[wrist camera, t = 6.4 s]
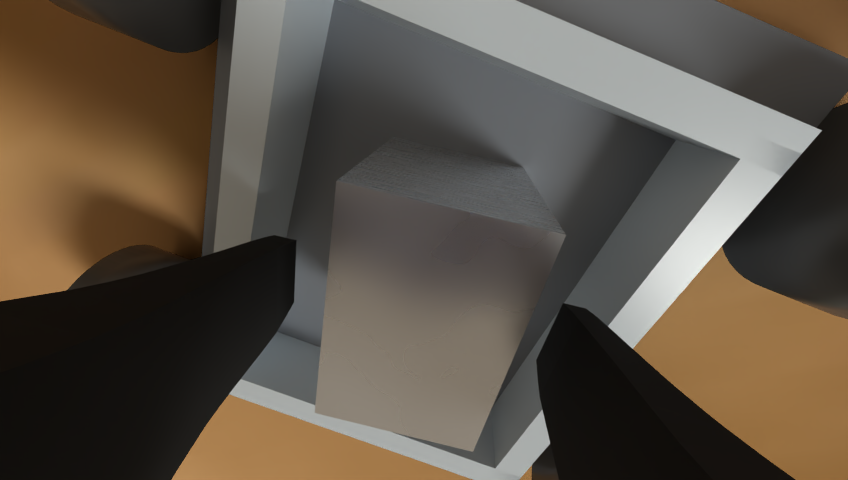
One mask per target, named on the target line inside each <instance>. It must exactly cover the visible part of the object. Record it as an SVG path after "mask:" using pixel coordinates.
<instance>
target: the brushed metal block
mask: <svg viewBox="0 0 848 480" xmlns="http://www.w3.org/2000/svg"><path fill="white" fill-rule="evenodd" d="M565 237H566V234H565V232H564V231H563V229H562V228H561V226H560V224H559V223H558V221H557V220H556V218H555V217H554V215H553V213H552V212H551V210H550V209H549V207H548V206H547V204H546V202H545V201H544V199H543V198H542V196H541V194H540V193H539V191H538V190H537V188H536V187H535V185H534V183H533V182H532V180H531V179H530V177H529V176H528V174H527V172H526V171H525V169H524V168H523V167H521V166H517V165H512V164H508V163H504V162H499V161H495V160H491V159H486V158H482V157H478V156H473V155H469V154H465V153H460V152H456V151H452V150H447V149H443V148H439V147H434V146H430V145H426V144H421V143H417V142H413V141H409V140H404V139H400V138H396V137H393V138H391V139H390V140H389V141H388V142H386V143H385V144H384V145H382V146H381V147H380V148H378V149H377V150H376V151H375V152H373V153H372V154H371V155H369V156H368V157H367V158H366V159H364V160H363V161H362V162H360V163H359V164H358V165H356V166H355V167H354V168H353V169H351V170H350V171H349V172H347V173H346V174H345V175H344V176H342V177H341V178H340V179H338V180H337V181H336V189H335V200H334V210H333V221H332V232H331V243H330V253H329V264H328V275H327V286H326V296H325V307H324V318H323V329H322V339H321V350H320V361H319V371H318V382H317V393H316V404H315V413H317V414H321V415H325V416H329V417H333V418H337V419H341V420H345V421H349V422H353V423H357V424H361V425H366V426H370V427H374V428H378V429H382V430H386V431H390V432H394V433H398V434H402V435H406V436H410V437H414V438H418V439H422V440H427V441H431V442H435V443H439V444H443V445H447V446H451V447H455V448H459V449H463V450H467V451H471V452H473V451H474V448H475V446H476V444H477V441H478V439H479V437H480V434H481V432H482V430H483V427H484V425H485V423H486V420H487V418H488V416H489V413H490V411H491V409H492V406H493V404H494V402H495V399H496V397H497V395H498V392H499V390H500V388H501V385H502V383H503V381H504V379H505V376H506V374H507V372H508V369H509V367H510V365H511V362H512V360H513V358H514V355H515V353H516V351H517V348H518V346H519V344H520V341H521V339H522V337H523V334H524V332H525V330H526V327H527V325H528V323H529V320H530V318H531V316H532V313H533V311H534V309H535V306H536V304H537V302H538V299H539V297H540V295H541V293H542V290H543V288H544V286H545V283H546V281H547V279H548V276H549V274H550V272H551V269H552V267H553V265H554V262H555V260H556V258H557V255H558V253H559V251H560V248H561V246H562V244H563V241H564V239H565Z"/></svg>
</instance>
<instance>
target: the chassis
mask: <svg viewBox="0 0 848 480" xmlns="http://www.w3.org/2000/svg"><path fill="white" fill-rule="evenodd" d="M49 1H51V2H52V3H54V4H55V5H57V6H59V7H61V8H63V9H65V10H67V11H69V12H71V13H73V14H75V15H78V16H80V17H83V18H85V19H88V20H90V21H93V22H95V23H98V24H100V25H103V26H105V27H108V28H110V29H113V30H115V31H118V32H120V33H123V34H126V35H128V36H131V37H133V38H136V39H138V40H141V41H143V42H146V43H148V44H151V45H153V46H156V47H158V48H161V49H164V50H167V51H171V52H177V53H188V52H193V51H197V50H200V49H202V48H205V47H206V46H208V45H210V44H211V43H213V42H214V41H215V40H216V39H217V38H218V49H217V62H216V75H215V89H214V102H213V115H212V128H211V141H210V154H209V168H208V181H207V194H206V207H205V220H204V234H203V247H202V256H206V255H209V254H212V253H215V252H218V251H221V250H225V249H228V248H231V247H234V246H237V245H240V244H243V243H247V242H250V241H253V240H257V239H260V238H264V237H268V236H273V235H276V236H281V237H285V238H289V239H293V240H297V242H296V267H295V291H294V303H293V305H292V307H291V309H290V310H289V312H288V314H287V316H286V317H285V319H284V321H283V323H282V324H281V326H280V328H279V329H278V331H277V333H276V334H275V335H274V337H273V338H272V339H271V341H270V342H269V343H268V345H267V346H266V347H265V348H264V350H263V351H262V352H261V354H260V355H259V356H258V358H257V359H256V360H255V361H254V363H253V364H252V365H251V367H250V368H249V369H248V370H247V372H246V373H245V374H244V376H243V377H242V378H241V379H240V381H239V382H238V383H237V384H236V386H235V387H234V388H233V390H232V391H231V392H230V393H229V394H230V395H233V396H236V397H238V398H241V399H244V400H247V401H250V402H253V403H256V404H259V405H261V406H264V407H267V408H270V409H273V410H276V411H279V412H281V413H284V414H287V415H290V416H293V417H296V418H299V419H301V420H304V421H307V422H310V423H313V424H316V425H319V426H321V427H324V428H327V429H330V430H333V431H336V432H339V433H342V434H344V435H347V436H350V437H353V438H356V439H359V440H362V441H364V442H367V443H370V444H373V445H376V446H379V447H382V448H384V449H387V450H390V451H393V452H396V453H399V454H402V455H404V456H407V457H410V458H413V459H416V460H419V461H422V462H424V463H427V464H430V465H433V466H436V467H439V468H442V469H445V470H447V471H450V472H453V473H456V474H459V475H462V476H465V477H467V478H470V479H473V480H519V479H520V478H521V477H522V476H523V474H524V473H525V472H526V471H527V470H528V469H529V467H530V466H531V465H532V480H559V478H558V474H557V469H556V465H555V461H554V457H553V453H552V448H551V444H550V440H549V436H548V432H547V427H546V423H545V419H544V414H543V410H542V405H541V401H540V396H539V387H538V377H537V365H536V359H537V357H538V355H539V353H540V351H541V349H542V347H543V344H544V342H545V340H546V338H547V336H548V334H549V332H550V329H551V327H552V325H553V323H554V321H555V319H556V317H557V314H558V312H559V310H560V308H561V306H562V304H563V303H565V304H569V305H574V306H578V307H582V308H586V309H587V310H589V311H590V312H591V313H593V314H594V315H595V316H596V317H598V318H599V319H600V320H601V321H602V322H603V323H605V324H606V325H607V326H608V327H609V328H610V329H611V330H612V331H614V332H615V333H616V334H617V335H618V336H619V337H620V338H621V339H622V340H623V341H625V342H626V343H627V344H628V345H629V346H630V347H631V348H632V349H633V348H634V346H635V345H636V344H637V343H638V342H639V341H640V340H641V338H642V337H643V336H644V335H645V334H646V333H647V332H648V330H649V329H650V328H651V327H652V326H653V325H654V323H655V322H656V321H657V320H658V319H659V318H660V317H661V315H662V314H663V313H664V312H665V311H666V310H667V308H668V307H669V306H670V305H671V304H672V303H673V302H674V300H675V299H676V298H677V297H678V296H679V295H680V294H681V292H682V291H683V290H684V289H685V288H686V287H687V285H688V284H689V283H690V282H691V281H692V280H693V279H694V277H695V276H696V275H697V274H698V273H699V272H700V270H701V269H702V268H703V267H704V266H705V265H706V264H707V262H708V261H709V260H710V259H711V258H712V257H713V255H714V254H715V253H716V252H717V251H718V250H719V249H720V247H721V246H722V247H723V250H724V253H725V256H726V257H727V259H728V261H729V262H730V264H731V265H732V266H733V267H734V269H735V270H736V271H737V272H738V273H740V274H741V275H742V276H743V277H744V278H746V279H748V280H749V281H751V282H753V283H755V284H757V285H759V286H762V287H764V288H767V289H769V290H772V291H774V292H777V293H779V294H782V295H784V296H787V297H789V298H792V299H794V300H797V301H799V302H802V303H804V304H807V305H809V306H812V307H815V308H817V309H820V310H822V311H825V312H827V313H830V314H832V315H835V316H839V317H842V318H845V319H848V103H846V104H843V105H841V106H838V107H836V108H834V107H835V105H836V104H837V103H838V102H839V101H840V100H841V98H842V97H843V96H844V95H845V94H846V93H847V91H848V58H845V57H843V56H841V55H839V54H836V53H834V52H832V51H829V50H827V49H825V48H823V47H820V46H818V45H816V44H813V43H811V42H809V41H807V40H804V39H802V38H800V37H798V36H795V35H793V34H791V33H788V32H786V31H784V30H782V29H779V28H777V27H775V26H772V25H770V24H768V23H766V22H763V21H761V20H759V19H756V18H754V17H752V16H750V15H747V14H745V13H743V12H741V11H738V10H736V9H734V8H731V7H729V6H727V5H725V4H722V3H720V2H718V1H715V0H49ZM393 137H396V138H400V139H404V140H409V141H413V142H417V143H421V144H426V145H430V146H434V147H439V148H443V149H447V150H452V151H456V152H460V153H465V154H469V155H473V156H478V157H482V158H486V159H491V160H495V161H499V162H504V163H508V164H512V165H517V166H521V167H523V168H524V169H525V171H526V172H527V174H528V176H529V177H530V179H531V180H532V182H533V183H534V185H535V187H536V188H537V190H538V191H539V193H540V194H541V196H542V198H543V199H544V201H545V202H546V204H547V206H548V207H549V209H550V210H551V212H552V213H553V215H554V217H555V218H556V220H557V221H558V223H559V224H560V226H561V228H562V229H563V231H564V232H565V234H566V237H565V239H564V241H563V244H562V246H561V248H560V251H559V253H558V255H557V258H556V260H555V262H554V265H553V267H552V269H551V272H550V274H549V276H548V279H547V281H546V283H545V286H544V288H543V290H542V293H541V295H540V297H539V299H538V302H537V304H536V306H535V309H534V311H533V313H532V316H531V318H530V320H529V323H528V325H527V327H526V330H525V332H524V334H523V337H522V339H521V341H520V344H519V346H518V348H517V351H516V353H515V355H514V358H513V360H512V362H511V365H510V367H509V369H508V372H507V374H506V376H505V379H504V381H503V383H502V385H501V388H500V390H499V392H498V395H497V397H496V399H495V402H494V404H493V406H492V409H491V411H490V413H489V416H488V418H487V420H486V423H485V425H484V427H483V430H482V432H481V434H480V437H479V439H478V441H477V444H476V446H475V448H474V451H473V452H471V451H467V450H463V449H459V448H455V447H451V446H447V445H443V444H439V443H435V442H431V441H427V440H422V439H418V438H414V437H410V436H406V435H402V434H398V433H394V432H390V431H386V430H382V429H378V428H374V427H370V426H366V425H361V424H357V423H353V422H349V421H345V420H341V419H337V418H333V417H329V416H325V415H321V414H317V413H315V404H316V393H317V382H318V371H319V361H320V350H321V339H322V329H323V318H324V307H325V296H326V286H327V275H328V264H329V253H330V243H331V232H332V221H333V210H334V200H335V189H336V181H337V180H338V179H340V178H341V177H342V176H344V175H345V174H346V173H347V172H349V171H350V170H351V169H353V168H354V167H355V166H356V165H358V164H359V163H360V162H362V161H363V160H364V159H366V158H367V157H368V156H369V155H371V154H372V153H373V152H375V151H376V150H377V149H378V148H380V147H381V146H382V145H384V144H385V143H386V142H388V141H389V140H390V139H391V138H393ZM186 261H189V259H186V258H184V257H181V256H178V255H175V254H173V253H170V252H167V251H164V250H162V249H159V248H156V247H153V246H150V245H136V246H130V247H127V248H124V249H121V250H119V251H116V252H114V253H112V254H110V255H108V256H107V257H105V258H103V259H102V260H100V261H99V262H97V263H96V264H94V265H93V266H92V267H91V268H89V269H88V270H87V271H86V272H85V273H83V274H82V275H81V276H80V277H79V278H78V279H77V280H76V281H75V282H74V283H73V284H72V285H71V287H70V288H69V289H68V290H72V289H77V288H82V287H86V286H91V285H96V284H100V283H105V282H110V281H114V280H118V279H123V278H127V277H131V276H135V275H139V274H143V273H147V272H150V271H154V270H157V269H161V268H164V267H168V266H171V265H175V264H179V263H182V262H186Z"/></svg>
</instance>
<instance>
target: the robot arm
mask: <svg viewBox="0 0 848 480" xmlns="http://www.w3.org/2000/svg"><path fill="white" fill-rule="evenodd" d="M296 242H297V240H293V239H289V238H285V237H281V236H276V235H273V236H268V237H264V238H260V239H257V240H253V241H250V242H247V243H243V244H240V245H237V246H234V247H231V248H228V249H225V250H221V251H218V252H215V253H212V254H209V255H206V256H202V257H199V258H196V259H193V260H189V261H186V262H182V263H179V264H175V265H171V266H168V267H164V268H161V269H157V270H154V271H150V272H147V273H143V274H139V275H135V276H131V277H127V278H123V279H118V280H114V281H110V282H105V283H100V284H96V285H91V286H86V287H82V288H77V289H72V290H67V291H61V292H55V293H49V294H43V295H37V296H31V297H25V298H19V299H13V300H7V301H1V302H0V480H171V479H172V477H173V476H174V474H175V473H176V471H177V469H178V468H179V466H180V465H181V463H182V461H183V460H184V458H185V457H186V455H187V454H188V452H189V451H190V449H191V447H192V446H193V444H194V443H195V441H196V440H197V438H198V437H199V435H200V433H201V432H202V430H203V429H204V427H205V426H206V424H207V423H208V421H209V420H210V419H211V417H212V416H213V415H214V413H215V412H216V410H217V409H218V408H219V406H220V405H221V404H222V402H223V401H224V400H225V399H226V397H227V396H228V395H229V393H230V392H231V391H232V390H233V388H234V387H235V386H236V384H237V383H238V382H239V381H240V379H241V378H242V377H243V376H244V374H245V373H246V372H247V370H248V369H249V368H250V367H251V365H252V364H253V363H254V361H255V360H256V359H257V358H258V356H259V355H260V354H261V352H262V351H263V350H264V348H265V347H266V346H267V345H268V343H269V342H270V341H271V339H272V338H273V337H274V335H275V334H276V333H277V331H278V329H279V328H280V326H281V324H282V323H283V321H284V319H285V317H286V316H287V314H288V312H289V310H290V309H291V307H292V305H293V303H294V291H295V267H296ZM536 365H537V377H538V387H539V396H540V401H541V405H542V410H543V414H544V419H545V423H546V427H547V432H548V436H549V440H550V444H551V448H552V453H553V457H554V461H555V465H556V469H557V474H558V478H559V480H795V479H794V478H792V477H791V476H790V475H788V474H787V473H785V472H784V471H783V470H781V469H780V468H778V467H777V466H776V465H774V464H773V463H771V462H770V461H769V460H767V459H766V458H765V457H763V456H762V455H761V454H759V453H758V452H757V451H755V450H754V449H753V448H751V447H750V446H749V445H747V444H746V443H745V442H743V441H742V440H741V439H739V438H738V437H737V436H735V435H734V434H733V433H731V432H730V431H729V430H727V429H726V428H725V427H723V426H722V425H721V424H720V423H718V422H717V421H716V420H715V419H713V418H712V417H711V416H710V415H708V414H707V413H706V412H705V411H703V410H702V409H701V408H700V407H699V406H697V405H696V404H695V403H694V402H693V401H691V400H690V399H689V398H688V397H687V396H686V395H684V394H683V393H682V392H681V391H680V390H678V389H677V388H676V387H675V386H674V385H673V384H671V383H670V382H669V381H668V380H667V379H666V378H664V377H663V376H662V375H661V374H660V373H659V372H658V371H657V370H655V369H654V368H653V367H652V366H651V365H650V364H649V363H648V362H646V361H645V360H644V359H643V358H642V357H641V356H640V355H639V354H638V353H637V352H635V351H634V350H633V349H632V348H631V347H630V346H629V345H628V344H627V343H626V342H625V341H623V340H622V339H621V338H620V337H619V336H618V335H617V334H616V333H615V332H614V331H612V330H611V329H610V328H609V327H608V326H607V325H606V324H605V323H603V322H602V321H601V320H600V319H599V318H598V317H596V316H595V315H594V314H593V313H591V312H590V311H589V310H587V309H586V308H582V307H578V306H574V305H569V304H565V303H563V304H562V306H561V308H560V310H559V312H558V314H557V317H556V319H555V321H554V323H553V325H552V327H551V329H550V332H549V334H548V336H547V338H546V340H545V342H544V344H543V347H542V349H541V351H540V353H539V355H538V357H537V359H536Z"/></svg>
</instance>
